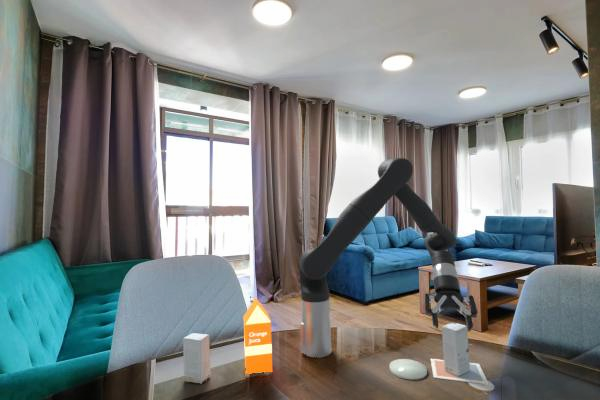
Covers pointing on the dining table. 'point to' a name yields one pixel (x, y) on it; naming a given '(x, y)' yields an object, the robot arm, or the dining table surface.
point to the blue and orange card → (471, 376)
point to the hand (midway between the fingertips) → (453, 328)
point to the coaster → (408, 369)
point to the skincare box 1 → (196, 356)
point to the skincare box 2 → (455, 348)
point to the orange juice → (257, 339)
